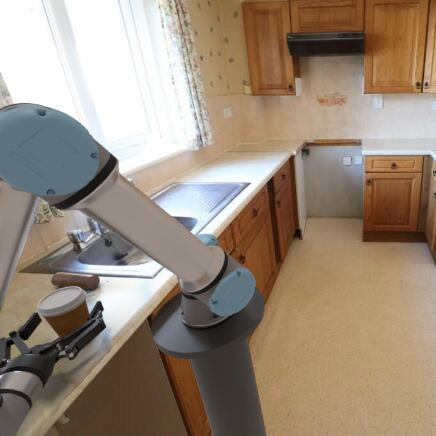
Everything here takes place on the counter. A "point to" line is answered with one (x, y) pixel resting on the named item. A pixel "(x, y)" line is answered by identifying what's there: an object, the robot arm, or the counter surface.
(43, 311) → the disposable coffee cup
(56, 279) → the brown rounded cylinder
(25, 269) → the counter surface
